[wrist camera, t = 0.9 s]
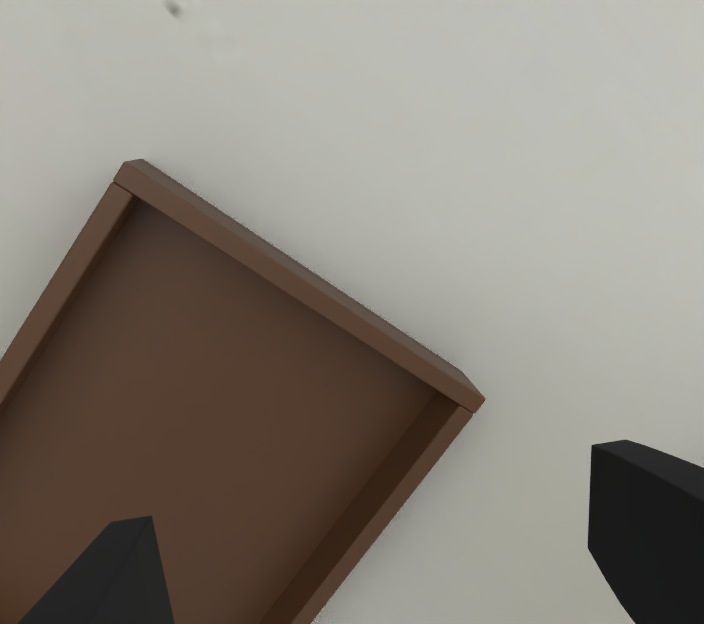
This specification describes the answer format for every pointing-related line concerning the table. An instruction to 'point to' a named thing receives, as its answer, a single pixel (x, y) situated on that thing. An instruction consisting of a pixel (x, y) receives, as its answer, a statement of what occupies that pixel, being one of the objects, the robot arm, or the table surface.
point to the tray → (209, 413)
